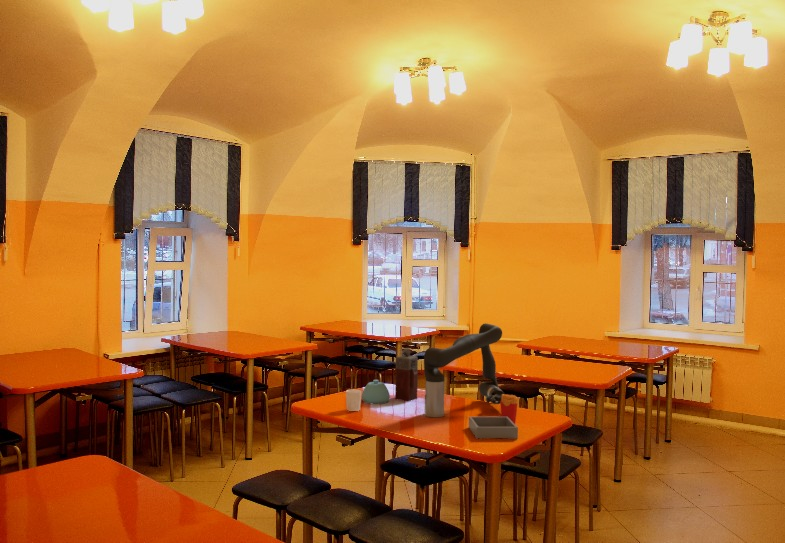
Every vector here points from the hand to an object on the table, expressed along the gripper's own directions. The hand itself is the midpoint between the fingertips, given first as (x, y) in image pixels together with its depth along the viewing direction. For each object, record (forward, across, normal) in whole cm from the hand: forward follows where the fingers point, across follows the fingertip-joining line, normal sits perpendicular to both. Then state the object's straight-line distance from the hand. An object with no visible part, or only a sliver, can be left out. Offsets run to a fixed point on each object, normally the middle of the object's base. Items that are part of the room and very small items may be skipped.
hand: (503, 402), depth 306 cm
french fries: (+11, 0, +7) cm, 13 cm away
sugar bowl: (-32, -62, +7) cm, 70 cm away
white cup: (-12, -74, +7) cm, 75 cm away
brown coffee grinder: (-38, -44, +7) cm, 58 cm away
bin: (+29, -12, +7) cm, 32 cm away
